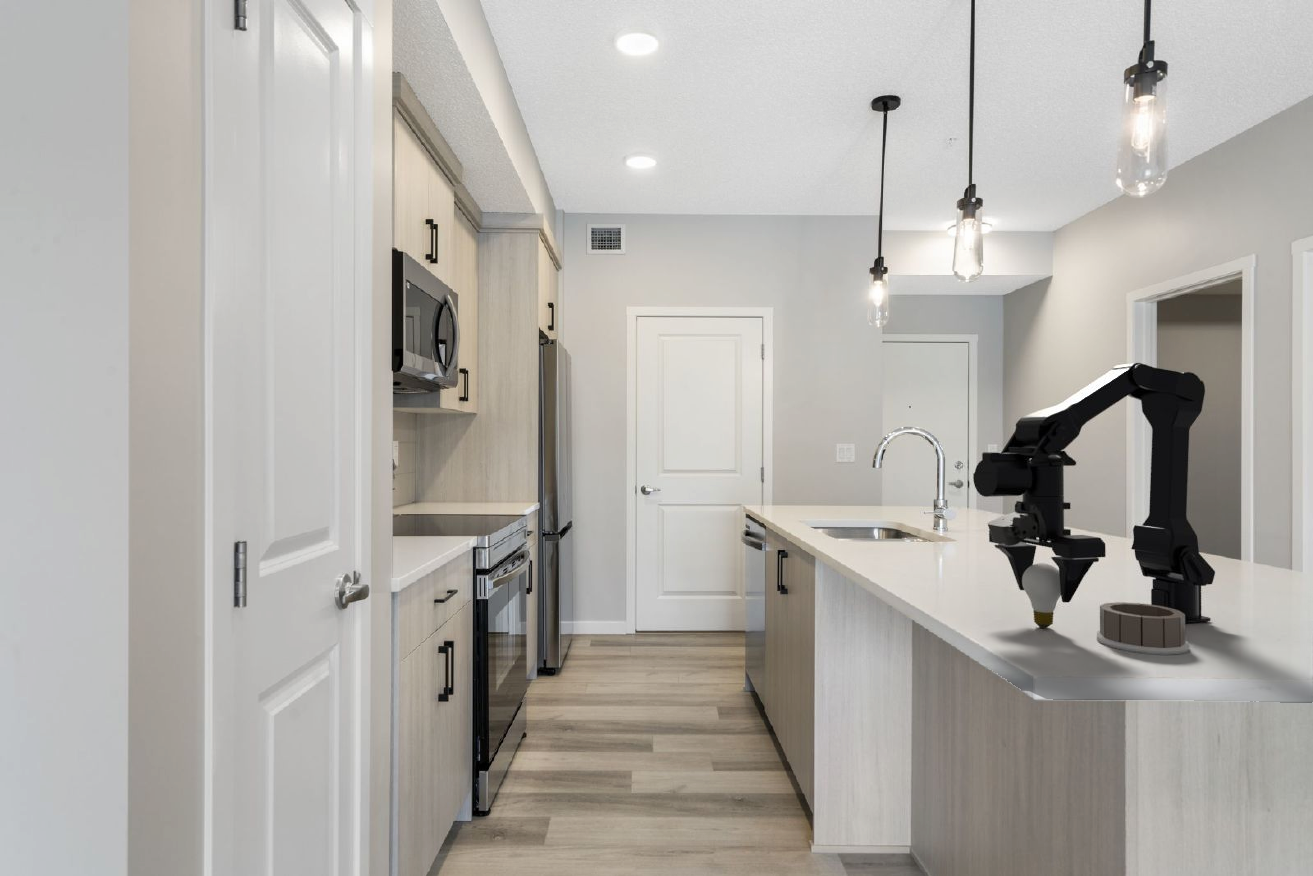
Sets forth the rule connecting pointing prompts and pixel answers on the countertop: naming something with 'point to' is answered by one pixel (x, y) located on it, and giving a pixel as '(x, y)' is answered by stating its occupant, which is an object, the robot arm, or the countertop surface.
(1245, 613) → the countertop surface
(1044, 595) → the light bulb
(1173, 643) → the socket
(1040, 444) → the robot arm
